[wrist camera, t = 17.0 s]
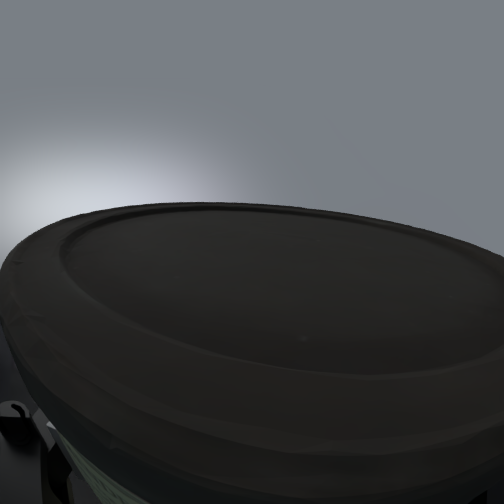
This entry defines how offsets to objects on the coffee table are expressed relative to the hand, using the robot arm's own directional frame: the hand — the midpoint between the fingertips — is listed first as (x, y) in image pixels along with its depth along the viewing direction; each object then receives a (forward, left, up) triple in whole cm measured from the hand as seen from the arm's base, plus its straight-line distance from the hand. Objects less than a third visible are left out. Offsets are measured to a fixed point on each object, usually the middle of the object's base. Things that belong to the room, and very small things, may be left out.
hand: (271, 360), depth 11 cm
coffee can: (+4, -2, -8) cm, 9 cm away
